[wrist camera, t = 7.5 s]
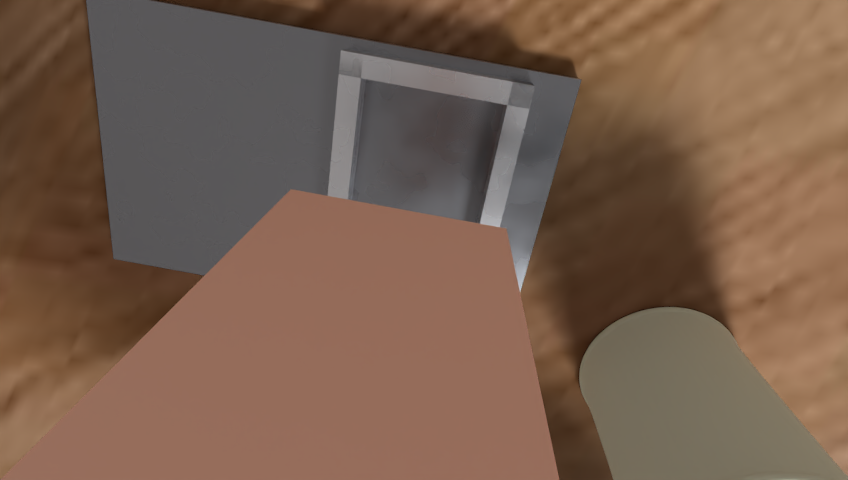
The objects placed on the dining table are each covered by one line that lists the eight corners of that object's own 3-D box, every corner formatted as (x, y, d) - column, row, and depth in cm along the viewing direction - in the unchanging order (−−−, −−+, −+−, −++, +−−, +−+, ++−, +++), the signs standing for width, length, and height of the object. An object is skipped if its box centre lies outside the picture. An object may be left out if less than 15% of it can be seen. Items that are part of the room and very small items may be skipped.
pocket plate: (577, 77, 23) (588, 83, 21) (507, 323, 29) (511, 345, 27) (96, -11, 23) (62, -14, 21) (122, 252, 29) (97, 270, 27)
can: (721, 283, 27) (894, 461, 16) (752, 406, 30) (914, 623, 20) (558, 335, 29) (615, 523, 18) (603, 444, 33) (674, 660, 22)
